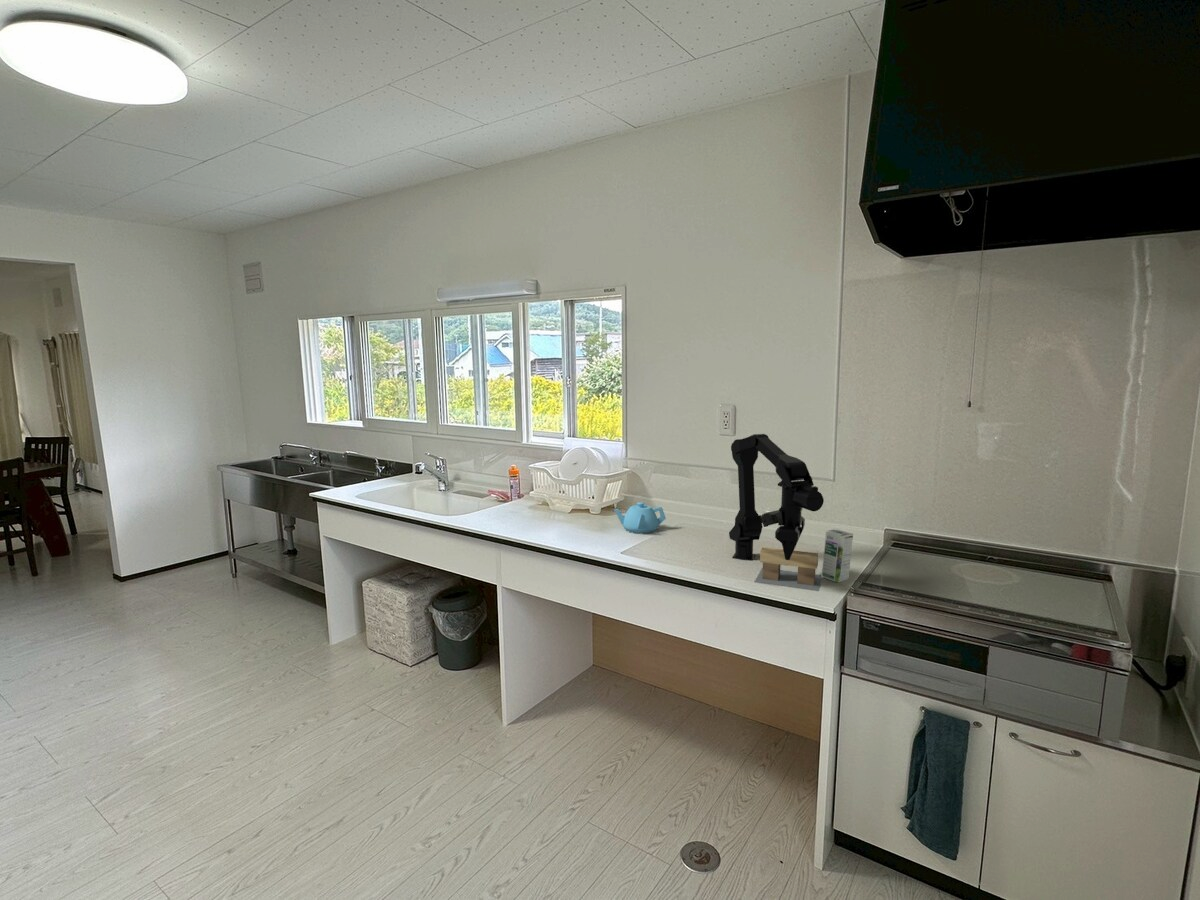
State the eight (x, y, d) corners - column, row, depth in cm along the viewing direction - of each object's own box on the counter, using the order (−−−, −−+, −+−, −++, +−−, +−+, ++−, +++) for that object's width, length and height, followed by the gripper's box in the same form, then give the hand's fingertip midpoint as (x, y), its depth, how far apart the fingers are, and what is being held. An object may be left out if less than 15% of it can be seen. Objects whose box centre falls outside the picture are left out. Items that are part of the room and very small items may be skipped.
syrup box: (820, 577, 184) (825, 530, 181) (832, 573, 187) (837, 527, 185) (837, 583, 179) (842, 535, 177) (849, 579, 182) (854, 532, 180)
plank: (762, 558, 186) (762, 547, 185) (817, 564, 180) (818, 553, 179) (760, 562, 182) (760, 550, 182) (816, 568, 176) (817, 557, 176)
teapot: (641, 537, 228) (641, 509, 226) (612, 529, 239) (612, 502, 237) (667, 529, 238) (668, 502, 237) (639, 522, 249) (639, 496, 248)
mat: (762, 568, 193) (762, 567, 192) (822, 576, 185) (822, 575, 185) (754, 583, 180) (754, 582, 180) (818, 592, 173) (818, 591, 173)
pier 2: (799, 578, 183) (799, 562, 182) (815, 580, 181) (815, 564, 180) (797, 583, 178) (797, 567, 178) (813, 585, 177) (814, 569, 176)
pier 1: (764, 574, 187) (765, 558, 186) (780, 576, 185) (780, 560, 184) (762, 578, 183) (762, 562, 182) (777, 580, 181) (778, 564, 180)
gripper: (768, 495, 190) (766, 543, 192) (757, 508, 173) (756, 561, 175) (805, 498, 186) (803, 547, 188) (798, 511, 169) (796, 566, 171)
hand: (789, 555), depth 181 cm, fingers open, 9 cm apart
